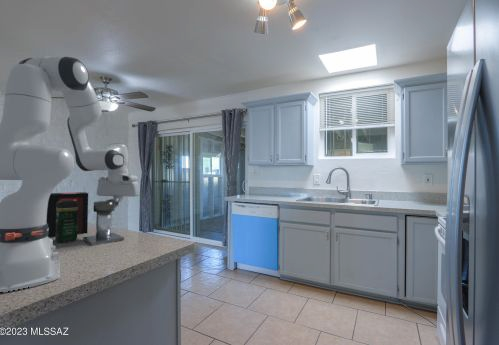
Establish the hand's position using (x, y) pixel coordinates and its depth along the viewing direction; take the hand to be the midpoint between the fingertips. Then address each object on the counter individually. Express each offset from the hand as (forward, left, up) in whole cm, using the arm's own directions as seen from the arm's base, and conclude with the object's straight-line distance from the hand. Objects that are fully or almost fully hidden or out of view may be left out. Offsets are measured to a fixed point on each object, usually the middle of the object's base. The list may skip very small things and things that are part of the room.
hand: (118, 205), depth 125 cm
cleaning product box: (+21, +16, -15) cm, 30 cm away
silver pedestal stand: (-4, +7, -15) cm, 17 cm away
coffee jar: (+6, +19, -15) cm, 25 cm away
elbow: (-2, +5, -2) cm, 6 cm away
